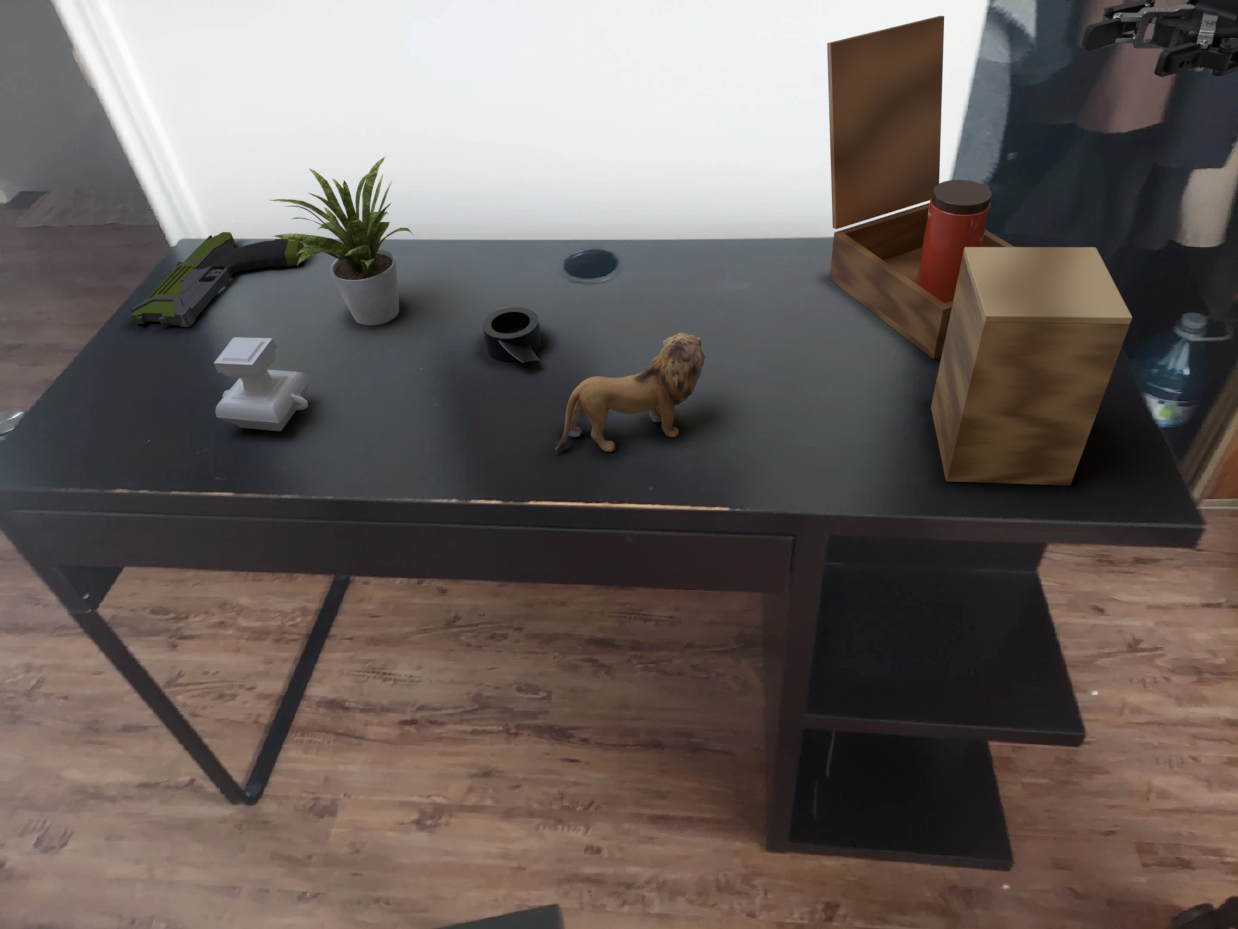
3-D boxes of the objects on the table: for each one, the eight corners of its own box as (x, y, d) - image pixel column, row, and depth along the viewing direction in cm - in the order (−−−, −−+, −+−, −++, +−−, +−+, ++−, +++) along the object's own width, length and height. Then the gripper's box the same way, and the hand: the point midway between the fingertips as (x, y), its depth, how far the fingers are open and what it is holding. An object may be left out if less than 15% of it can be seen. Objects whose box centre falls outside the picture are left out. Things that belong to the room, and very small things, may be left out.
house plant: (352, 268, 111) (313, 137, 100) (457, 278, 108) (428, 143, 97) (291, 335, 101) (240, 197, 90) (405, 348, 98) (366, 206, 87)
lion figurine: (691, 394, 89) (690, 316, 82) (715, 426, 85) (716, 346, 79) (547, 438, 85) (535, 359, 79) (566, 473, 81) (554, 393, 75)
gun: (248, 334, 102) (130, 330, 105) (318, 246, 115) (211, 245, 118) (240, 315, 100) (120, 312, 103) (312, 228, 114) (204, 227, 117)
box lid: (944, 15, 92) (916, 14, 95) (830, 43, 88) (805, 40, 92) (939, 197, 102) (913, 190, 105) (836, 229, 98) (813, 220, 101)
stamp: (328, 400, 92) (303, 330, 86) (299, 443, 87) (270, 372, 81) (247, 394, 93) (217, 324, 88) (214, 436, 89) (180, 365, 83)
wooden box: (1040, 320, 94) (1054, 270, 90) (933, 359, 90) (943, 309, 86) (927, 246, 106) (936, 200, 102) (829, 279, 102) (834, 232, 98)
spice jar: (979, 297, 96) (1004, 190, 88) (949, 319, 94) (971, 211, 86) (933, 278, 99) (953, 173, 91) (902, 299, 97) (920, 193, 89)
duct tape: (466, 372, 94) (460, 348, 92) (491, 317, 101) (487, 295, 99) (539, 375, 92) (535, 352, 90) (560, 320, 100) (557, 297, 98)
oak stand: (1044, 410, 84) (1094, 253, 73) (1070, 485, 76) (1130, 324, 65) (930, 407, 85) (963, 253, 74) (945, 481, 78) (984, 322, 67)
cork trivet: (1094, 253, 73) (1096, 246, 72) (1130, 324, 65) (1132, 317, 65) (963, 253, 74) (964, 246, 74) (984, 322, 67) (986, 315, 66)
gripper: (1297, 77, 87) (1171, 116, 83) (1172, 36, 97) (1053, 69, 92) (1334, -8, 82) (1202, 28, 78) (1197, -42, 92) (1073, -11, 87)
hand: (1121, 50), depth 85 cm, fingers open, 8 cm apart
